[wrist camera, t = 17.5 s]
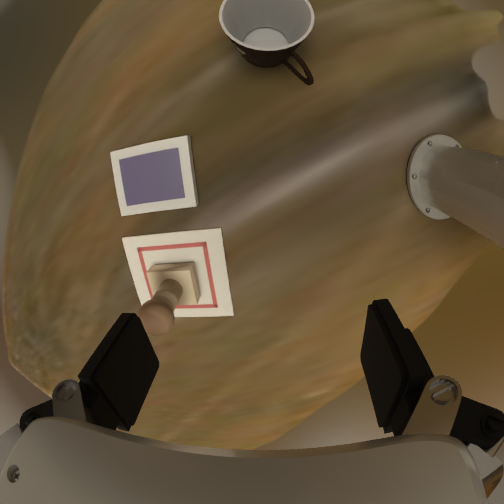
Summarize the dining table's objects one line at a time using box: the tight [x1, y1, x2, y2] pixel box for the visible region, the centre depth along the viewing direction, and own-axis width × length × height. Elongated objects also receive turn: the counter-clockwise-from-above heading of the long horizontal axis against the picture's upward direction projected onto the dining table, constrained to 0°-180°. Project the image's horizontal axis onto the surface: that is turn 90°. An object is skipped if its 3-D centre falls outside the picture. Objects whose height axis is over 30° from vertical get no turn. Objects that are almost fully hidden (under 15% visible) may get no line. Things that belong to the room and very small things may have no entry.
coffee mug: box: [219, 0, 314, 85], centre depth 22 cm, size 12×9×10 cm
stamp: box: [138, 262, 201, 336], centre depth 33 cm, size 6×5×12 cm
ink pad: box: [110, 135, 199, 216], centre depth 32 cm, size 11×9×2 cm
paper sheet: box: [122, 228, 234, 317], centre depth 39 cm, size 15×14×1 cm
